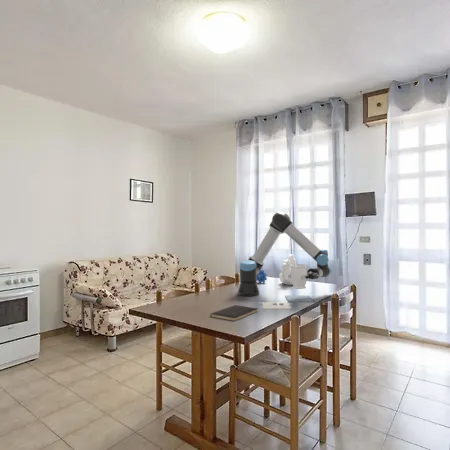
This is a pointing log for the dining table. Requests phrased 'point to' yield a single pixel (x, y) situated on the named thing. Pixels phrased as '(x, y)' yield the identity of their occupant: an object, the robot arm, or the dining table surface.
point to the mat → (299, 298)
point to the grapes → (261, 276)
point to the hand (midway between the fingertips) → (294, 276)
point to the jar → (298, 276)
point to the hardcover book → (234, 312)
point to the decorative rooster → (287, 270)
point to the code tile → (275, 305)
